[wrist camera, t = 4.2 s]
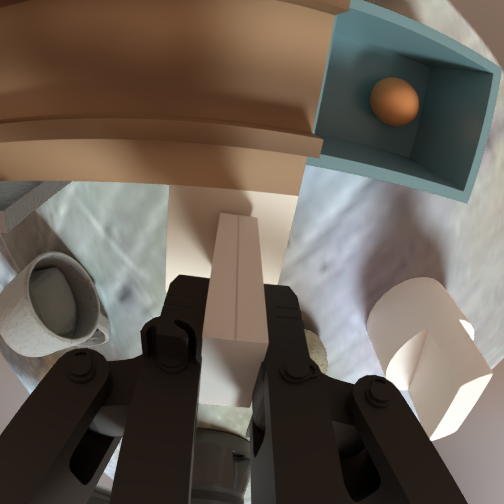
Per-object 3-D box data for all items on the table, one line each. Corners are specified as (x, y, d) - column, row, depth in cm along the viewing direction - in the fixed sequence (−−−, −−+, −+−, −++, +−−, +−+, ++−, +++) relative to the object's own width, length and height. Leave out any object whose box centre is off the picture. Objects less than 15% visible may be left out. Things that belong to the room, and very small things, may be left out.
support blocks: (256, 173, 22) (270, 272, 11) (-21, 156, 19) (-119, 216, 9) (291, -22, 15) (343, -110, 4) (-12, 1, 12) (-117, 1, 2)
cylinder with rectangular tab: (370, 285, 27) (424, 396, 16) (454, 269, 26) (522, 358, 16) (362, 353, 31) (395, 452, 21) (436, 336, 31) (480, 421, 21)
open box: (410, 164, 21) (467, 203, 15) (277, 134, 20) (294, 162, 14) (434, 63, 17) (502, 68, 11) (298, 18, 16) (327, -11, 10)
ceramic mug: (13, 273, 25) (-26, 325, 19) (56, 233, 23) (10, 289, 17) (83, 344, 30) (60, 402, 24) (134, 319, 28) (113, 385, 22)
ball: (406, 130, 19) (418, 135, 16) (362, 116, 20) (368, 119, 17) (416, 87, 18) (429, 86, 15) (372, 72, 18) (378, 68, 15)
